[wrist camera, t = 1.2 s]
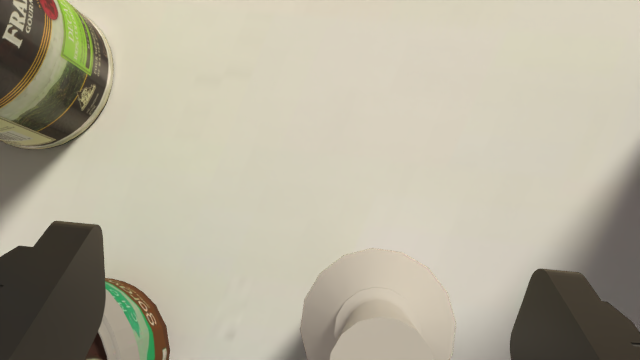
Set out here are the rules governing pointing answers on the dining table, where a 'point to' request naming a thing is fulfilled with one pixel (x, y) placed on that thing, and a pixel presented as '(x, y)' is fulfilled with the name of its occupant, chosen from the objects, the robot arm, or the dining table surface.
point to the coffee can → (50, 73)
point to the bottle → (377, 310)
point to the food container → (129, 327)
